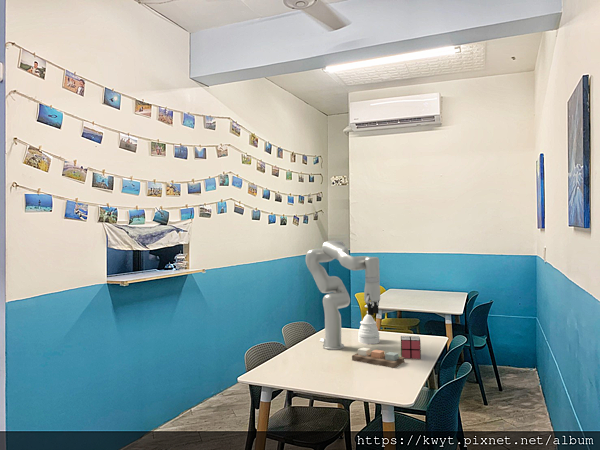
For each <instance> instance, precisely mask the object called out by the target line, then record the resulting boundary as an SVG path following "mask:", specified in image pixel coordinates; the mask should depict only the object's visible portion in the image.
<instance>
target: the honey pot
mask: <svg viewBox="0 0 600 450" xmlns="http://www.w3.org/2000/svg"><path fill="white" fill-rule="evenodd" d="M359 323H360V324H359V325H360V326H359V329H358V333H357V335H358V336H357V339H358V343H360V344H365V345H373V344H378V343H380V332H379V329H378V326H377V321H375V318H374V317H373V315H368V310H366V314H365V316H364V317H363V319H362V320H361V321H360V322H359Z"/></svg>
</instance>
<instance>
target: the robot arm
mask: <svg viewBox="0 0 600 450" xmlns="http://www.w3.org/2000/svg"><path fill="white" fill-rule="evenodd" d="M334 260H337V261H339V264H340V265H341V266H342V267H344V268H346V269H348V270H349V271H354V272H355V271H363V270H364V271H365V272H364V273H365V275H364V276H365V278H364V279H365V283H364V292H363V293H364V298H363V299H364V300H363V301H364V303H365V304H366V307H367V311H368V315H371V316H374V314H375V315H377V314H379V306H380V305H379V304H380V300H381V286H380V283H381V281H380V279H381V277H380V276H381V275H380V259H379V257H378V256H368V255H362V256H361V255H360V256H359V255H356V256H352V255H350V250H349V248H348V247H346V245H345V244H344V242H343V241H341V240H339V239H338V240H326V241H324V242H323V244H322V246H321V248H313V249H309V250H307V252H306V255H305V265H306V266H307V269H308V271H309V272H310V274H311V276H312V278H313V279H314V281H315V284H316V286H317V289H318V290H319V292H320V293H322V294H325V295H324V296H323V298H322V306H323V312H324V338H323V337H321V338H320V340H319V342H320V343H323V345H322V349H325V350H329V351H331V350H332V351H333V350H334V351H336V350H343V349H344V348H345V344H344V343H342V315H341V313H340V311H339V310H340V309H344V308H347V307H348V306H350V303H351V298H350V294H349V292H348V290H347V288H346V286H345V284H344V283H343V280H342V279H341V278H340V277H339V276H335V275H331V276H330V275H329V274H328V273H327V270H326V268H325V267H324V266H323V265H322V264H320V263H328V262H332V261H334Z"/></svg>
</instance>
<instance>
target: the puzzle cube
mask: <svg viewBox="0 0 600 450" xmlns="http://www.w3.org/2000/svg"><path fill="white" fill-rule="evenodd" d="M421 346H422V345H421V337H420V336H419V335H401V336H400V355H401V356H400V357H404V360H421V359H422V353H421V351H422V350H421V348H422V347H421Z"/></svg>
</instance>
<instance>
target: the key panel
mask: <svg viewBox="0 0 600 450" xmlns="http://www.w3.org/2000/svg"><path fill="white" fill-rule="evenodd" d="M385 354H386V353H384V356H385ZM351 361H354V362H360V363H364V364H369V365H375V366H381V367H386V368H391V369H395V368H397V367H399V366H400V365H402V364H404V363H405V359H404V357H401V356H399V359H398V360H396V361H390V360H385V357H383V358H381V359H379V358H373V357H371V355H368V356H362V355H358V352H357V353H354V354H353V355H351Z"/></svg>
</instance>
